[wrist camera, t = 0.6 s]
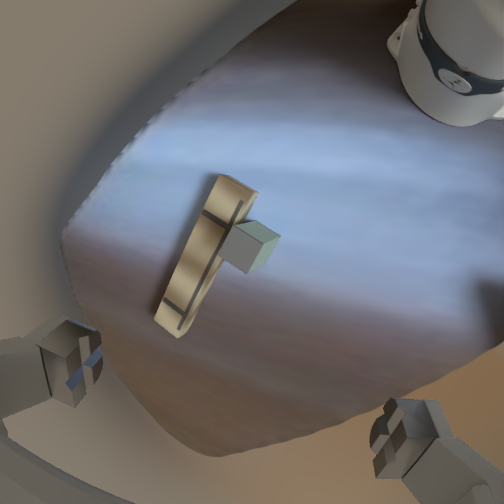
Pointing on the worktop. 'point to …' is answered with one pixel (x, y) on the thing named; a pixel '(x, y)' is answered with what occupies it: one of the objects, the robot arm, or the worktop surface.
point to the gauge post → (249, 245)
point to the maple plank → (203, 254)
